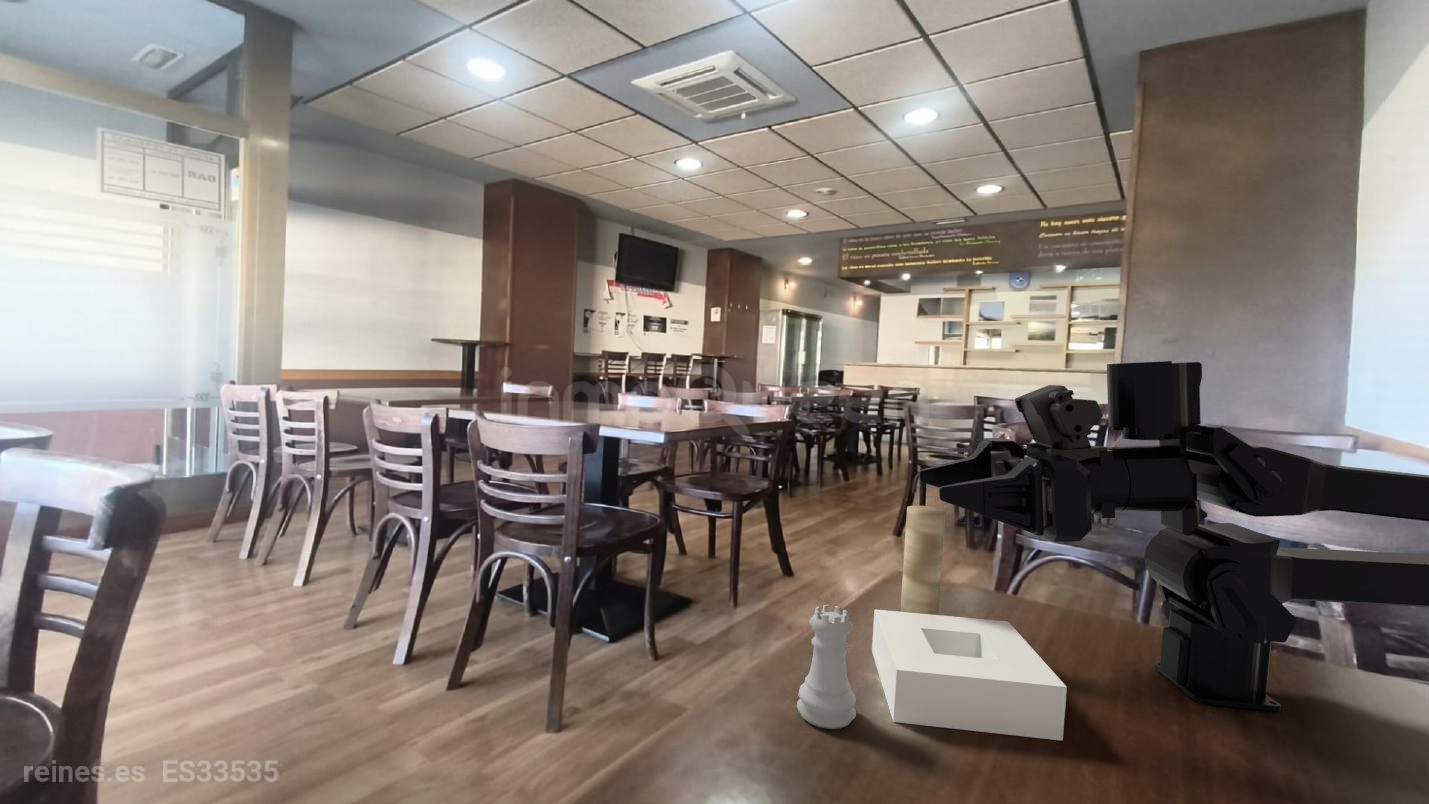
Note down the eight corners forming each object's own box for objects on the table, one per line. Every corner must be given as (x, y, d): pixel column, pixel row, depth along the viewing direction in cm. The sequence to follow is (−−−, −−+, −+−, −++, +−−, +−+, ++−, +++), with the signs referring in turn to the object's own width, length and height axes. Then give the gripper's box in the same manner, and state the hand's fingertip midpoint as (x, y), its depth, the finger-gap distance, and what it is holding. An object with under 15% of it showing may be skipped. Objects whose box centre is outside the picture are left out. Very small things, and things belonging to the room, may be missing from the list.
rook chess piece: (861, 733, 45) (868, 625, 44) (799, 730, 45) (805, 621, 44) (849, 700, 49) (855, 602, 49) (793, 697, 49) (798, 598, 49)
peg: (932, 632, 63) (940, 507, 63) (940, 648, 60) (949, 514, 59) (896, 629, 64) (904, 504, 63) (902, 644, 60) (910, 512, 59)
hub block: (1005, 664, 57) (1008, 621, 57) (1062, 740, 45) (1066, 687, 45) (871, 651, 58) (874, 609, 58) (893, 721, 46) (896, 669, 46)
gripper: (1065, 386, 63) (908, 393, 66) (1173, 390, 45) (948, 400, 47) (1069, 494, 64) (912, 497, 66) (1177, 542, 45) (954, 545, 47)
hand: (928, 484), depth 57 cm, fingers open, 9 cm apart
